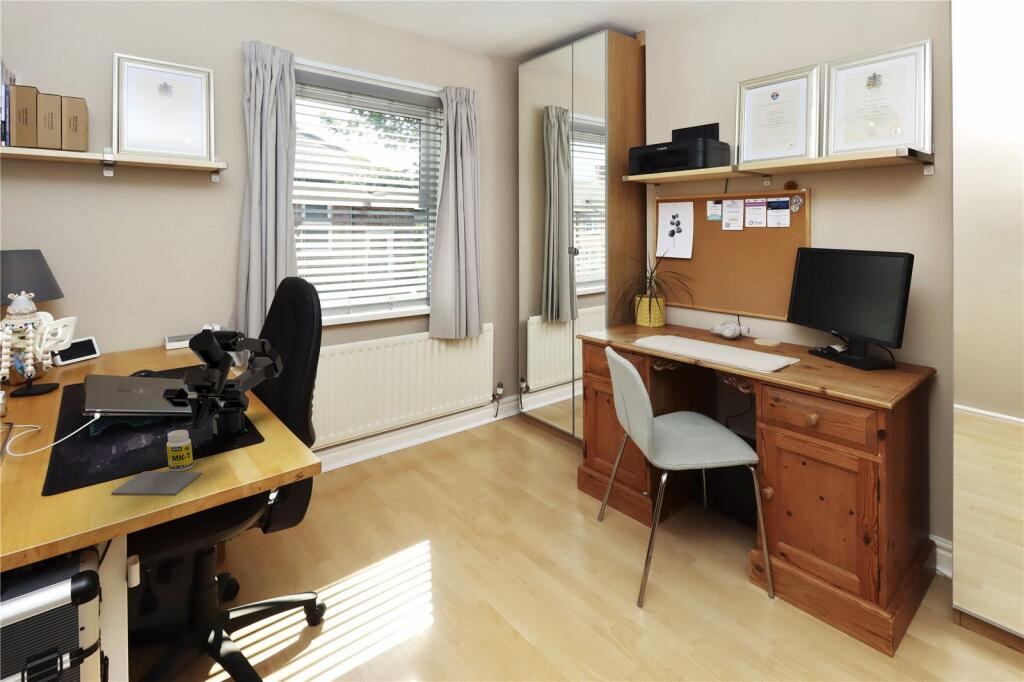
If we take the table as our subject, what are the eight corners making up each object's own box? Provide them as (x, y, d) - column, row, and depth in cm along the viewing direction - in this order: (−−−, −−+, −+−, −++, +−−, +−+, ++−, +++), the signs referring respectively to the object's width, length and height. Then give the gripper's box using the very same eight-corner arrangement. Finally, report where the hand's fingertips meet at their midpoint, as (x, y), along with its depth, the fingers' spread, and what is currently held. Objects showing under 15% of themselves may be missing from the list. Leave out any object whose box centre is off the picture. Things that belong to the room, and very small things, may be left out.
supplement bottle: (171, 473, 121) (167, 438, 120) (167, 467, 125) (163, 432, 123) (195, 468, 124) (192, 433, 123) (190, 461, 128) (187, 427, 126)
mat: (144, 473, 121) (143, 471, 121) (202, 473, 121) (202, 472, 121) (111, 494, 112) (111, 492, 112) (175, 495, 112) (175, 493, 112)
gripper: (162, 355, 132) (136, 414, 123) (239, 356, 132) (219, 415, 123) (184, 378, 141) (162, 434, 132) (257, 379, 141) (239, 435, 132)
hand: (195, 429), depth 130 cm, fingers closed
